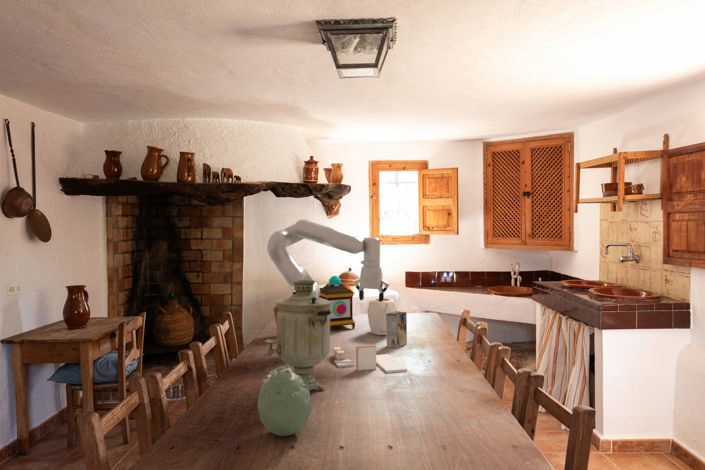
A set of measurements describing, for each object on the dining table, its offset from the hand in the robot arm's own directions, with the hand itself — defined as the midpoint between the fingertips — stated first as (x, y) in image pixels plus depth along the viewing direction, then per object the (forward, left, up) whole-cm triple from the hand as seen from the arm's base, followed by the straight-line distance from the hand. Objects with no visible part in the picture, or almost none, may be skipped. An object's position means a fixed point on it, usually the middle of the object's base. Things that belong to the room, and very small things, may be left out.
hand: (371, 300), depth 243 cm
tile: (-10, -26, -24) cm, 37 cm away
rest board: (+1, -21, -24) cm, 32 cm away
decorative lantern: (-4, +57, -25) cm, 62 cm away
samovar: (-42, -44, -25) cm, 65 cm away
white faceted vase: (+17, +34, -25) cm, 45 cm away
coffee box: (+16, +9, -25) cm, 31 cm away
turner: (-17, -11, -24) cm, 32 cm away
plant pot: (-33, +44, -25) cm, 60 cm away
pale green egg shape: (-51, -81, -25) cm, 99 cm away
